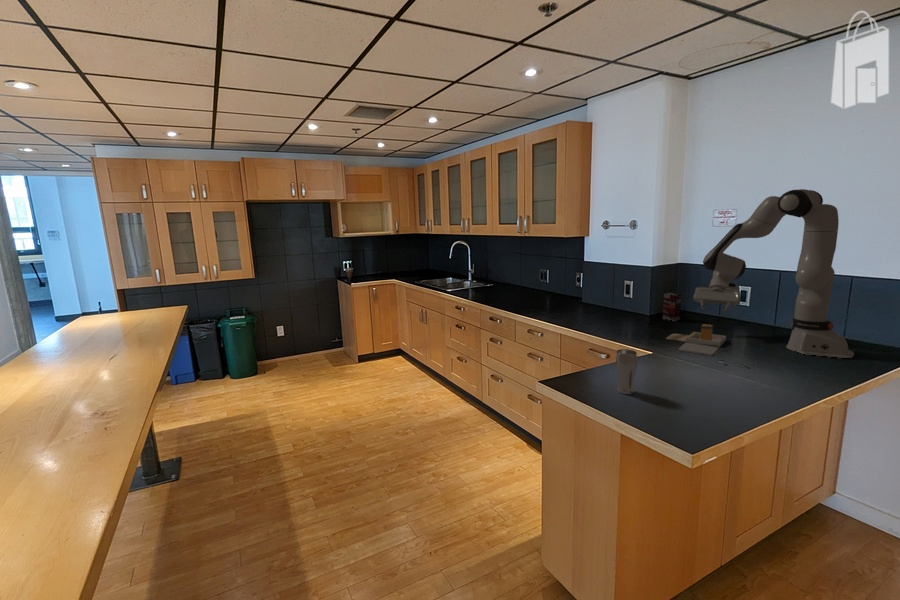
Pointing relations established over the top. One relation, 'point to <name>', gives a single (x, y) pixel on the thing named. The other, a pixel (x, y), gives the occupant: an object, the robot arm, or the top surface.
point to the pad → (677, 337)
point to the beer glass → (626, 370)
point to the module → (706, 332)
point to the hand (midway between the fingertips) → (713, 309)
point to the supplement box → (671, 306)
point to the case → (702, 344)
